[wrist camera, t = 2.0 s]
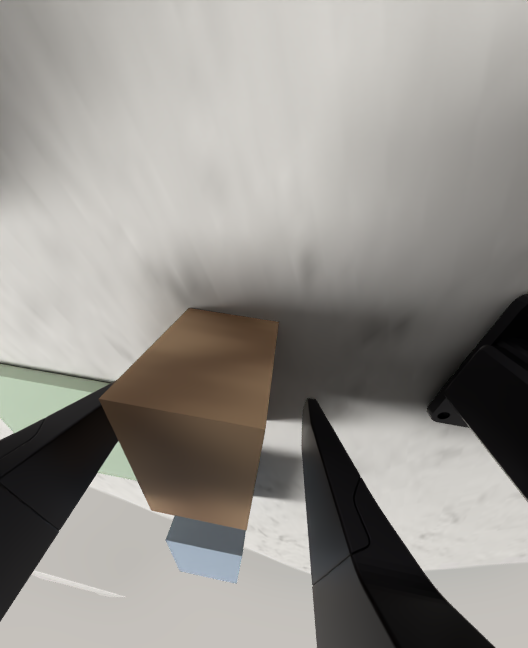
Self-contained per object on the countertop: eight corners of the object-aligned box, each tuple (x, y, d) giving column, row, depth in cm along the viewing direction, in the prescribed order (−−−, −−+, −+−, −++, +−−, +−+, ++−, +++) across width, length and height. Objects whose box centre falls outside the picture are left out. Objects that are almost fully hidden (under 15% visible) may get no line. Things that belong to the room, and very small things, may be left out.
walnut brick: (279, 320, 9) (265, 429, 5) (262, 418, 13) (246, 530, 8) (190, 306, 9) (98, 398, 5) (199, 407, 13) (151, 510, 8)
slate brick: (256, 453, 15) (242, 556, 10) (249, 494, 18) (236, 583, 14) (202, 442, 15) (165, 540, 11) (206, 485, 18) (179, 571, 14)
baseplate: (140, 388, 12) (131, 399, 12) (166, 474, 18) (161, 485, 17) (-28, 358, 13) (-46, 367, 12) (49, 451, 19) (39, 461, 18)
